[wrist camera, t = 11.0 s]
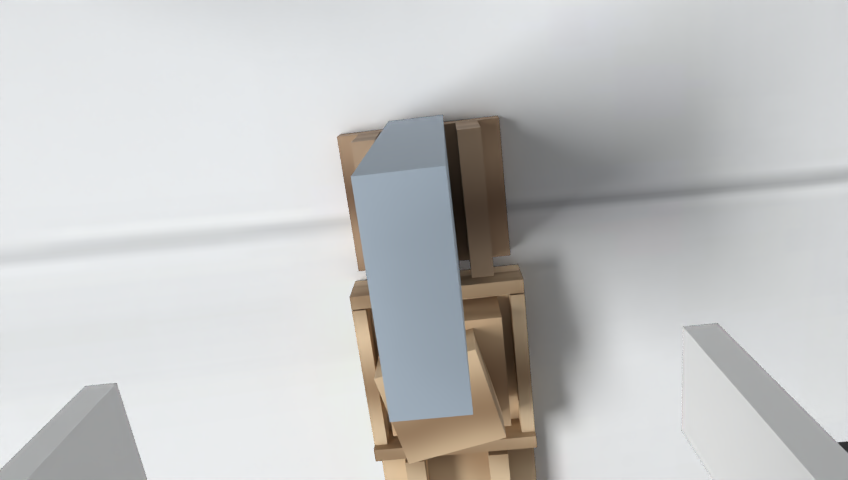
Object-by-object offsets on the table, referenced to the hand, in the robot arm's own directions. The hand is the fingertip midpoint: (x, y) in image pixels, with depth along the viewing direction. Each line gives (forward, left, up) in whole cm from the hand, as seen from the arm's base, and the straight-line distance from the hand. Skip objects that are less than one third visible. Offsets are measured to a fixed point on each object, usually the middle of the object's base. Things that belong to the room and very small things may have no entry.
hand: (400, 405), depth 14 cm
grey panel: (0, 0, -21) cm, 21 cm away
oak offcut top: (+11, 0, -18) cm, 21 cm away
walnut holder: (0, 0, -22) cm, 22 cm away
